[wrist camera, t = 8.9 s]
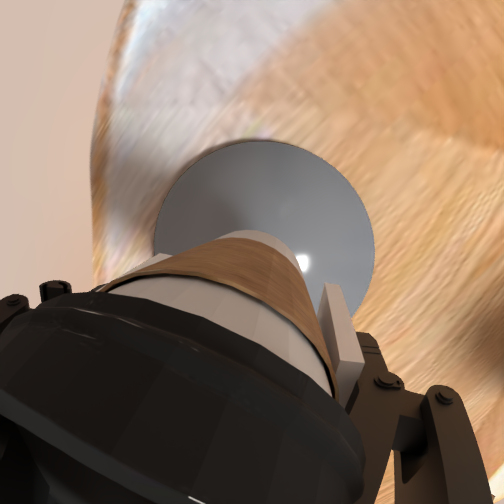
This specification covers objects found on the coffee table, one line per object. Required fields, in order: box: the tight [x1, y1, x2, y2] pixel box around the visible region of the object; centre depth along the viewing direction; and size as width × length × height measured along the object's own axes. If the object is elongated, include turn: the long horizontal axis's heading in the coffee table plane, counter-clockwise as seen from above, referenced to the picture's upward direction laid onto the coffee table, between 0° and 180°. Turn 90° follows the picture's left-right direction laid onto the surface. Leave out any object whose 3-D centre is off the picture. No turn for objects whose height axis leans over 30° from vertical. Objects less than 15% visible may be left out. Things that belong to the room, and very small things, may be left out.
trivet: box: [154, 141, 375, 318], centre depth 21 cm, size 16×16×1 cm
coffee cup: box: [0, 230, 366, 504], centre depth 10 cm, size 8×8×15 cm
